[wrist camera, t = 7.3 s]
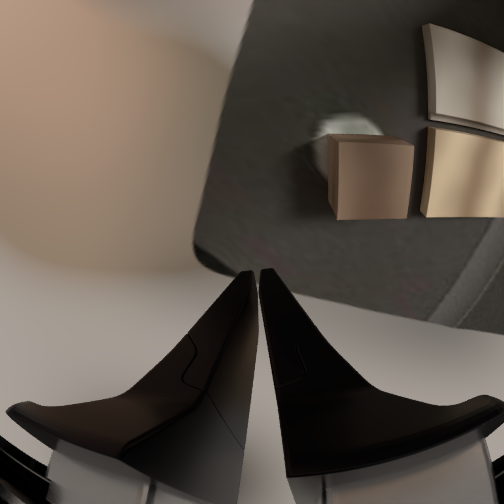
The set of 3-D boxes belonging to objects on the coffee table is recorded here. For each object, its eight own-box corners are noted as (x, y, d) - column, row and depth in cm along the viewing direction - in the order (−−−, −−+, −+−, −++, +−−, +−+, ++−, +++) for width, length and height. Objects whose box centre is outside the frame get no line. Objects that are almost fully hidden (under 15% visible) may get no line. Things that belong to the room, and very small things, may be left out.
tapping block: (392, 135, 17) (414, 145, 14) (388, 198, 20) (406, 218, 17) (327, 133, 17) (338, 142, 14) (327, 199, 20) (337, 220, 17)
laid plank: (513, 61, 10) (521, 62, 9) (514, 138, 14) (522, 141, 13) (421, 25, 11) (429, 23, 10) (428, 118, 15) (436, 121, 14)
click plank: (514, 144, 15) (522, 147, 14) (502, 211, 18) (509, 217, 17) (427, 126, 16) (435, 129, 15) (419, 210, 20) (426, 217, 19)
